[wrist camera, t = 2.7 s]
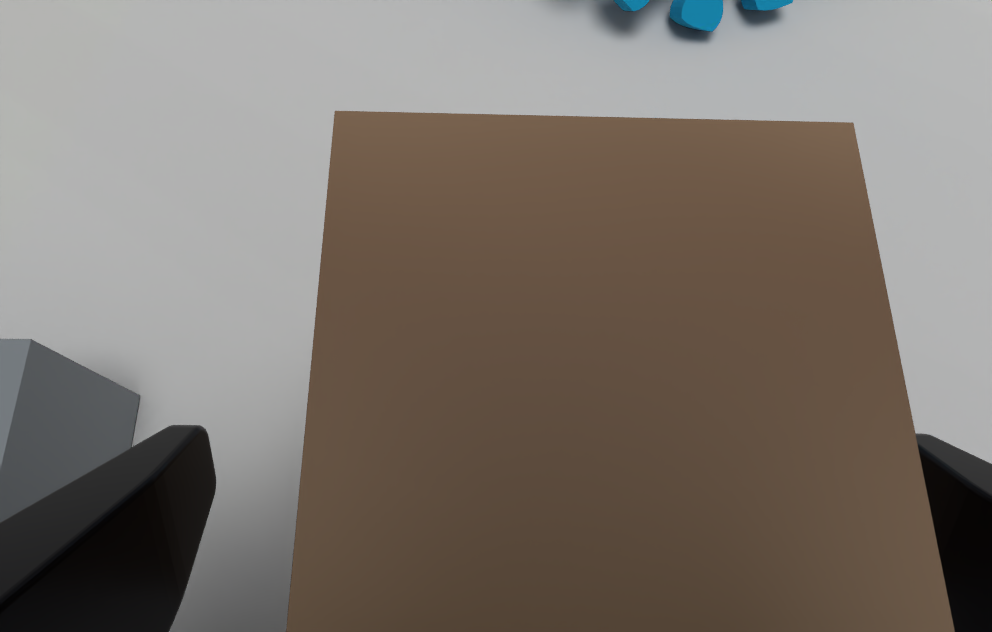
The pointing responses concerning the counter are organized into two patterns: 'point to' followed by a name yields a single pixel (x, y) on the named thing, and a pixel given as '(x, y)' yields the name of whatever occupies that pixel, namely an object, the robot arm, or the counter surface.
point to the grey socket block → (55, 422)
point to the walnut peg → (606, 385)
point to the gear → (702, 10)
